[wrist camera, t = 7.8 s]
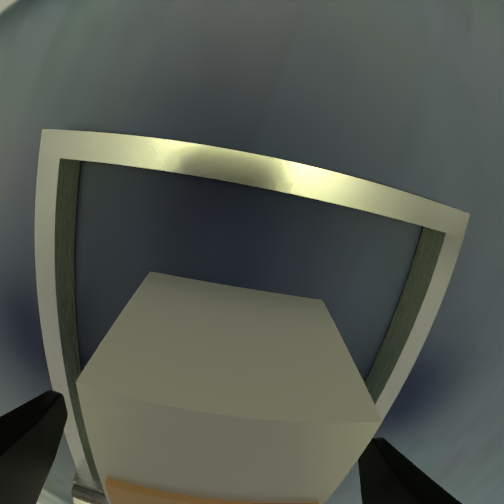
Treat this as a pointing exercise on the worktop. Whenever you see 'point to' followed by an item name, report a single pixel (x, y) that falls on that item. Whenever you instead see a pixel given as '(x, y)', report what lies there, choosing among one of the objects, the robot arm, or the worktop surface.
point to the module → (223, 398)
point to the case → (238, 171)
